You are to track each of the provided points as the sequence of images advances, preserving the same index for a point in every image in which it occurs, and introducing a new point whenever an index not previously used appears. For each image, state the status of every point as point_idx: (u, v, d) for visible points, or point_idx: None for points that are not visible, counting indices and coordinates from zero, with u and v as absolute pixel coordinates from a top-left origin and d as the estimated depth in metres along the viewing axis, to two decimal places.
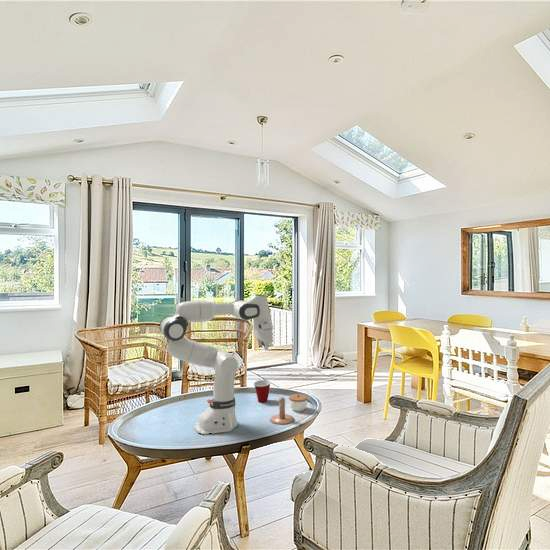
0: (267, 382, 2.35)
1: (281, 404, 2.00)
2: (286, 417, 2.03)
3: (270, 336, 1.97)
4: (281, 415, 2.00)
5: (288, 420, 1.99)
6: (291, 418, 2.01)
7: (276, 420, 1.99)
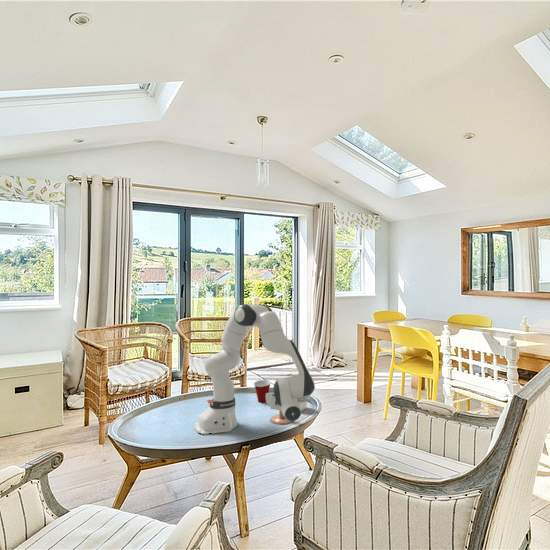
0: (267, 382, 2.35)
1: None
2: None
3: (266, 399, 1.80)
4: (281, 415, 2.00)
5: (288, 420, 1.99)
6: None
7: (276, 420, 1.99)
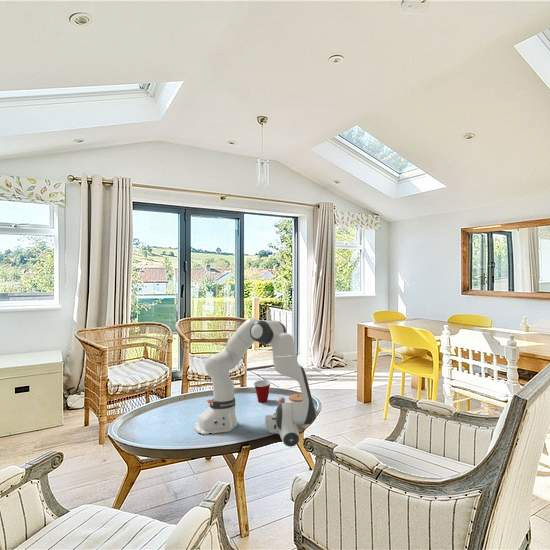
0: (267, 382, 2.35)
1: None
2: None
3: (265, 422, 1.84)
4: None
5: None
6: None
7: None
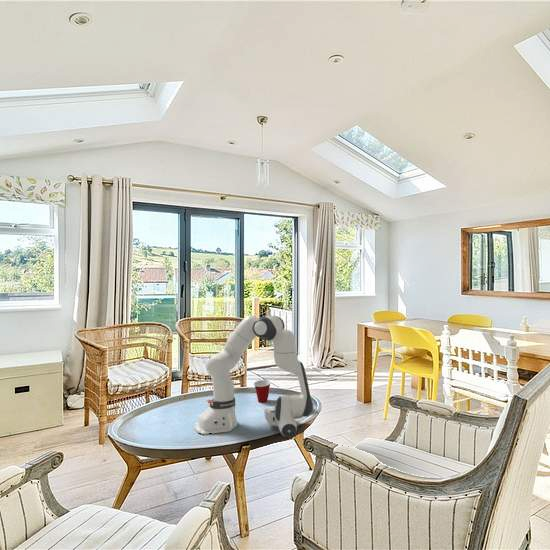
0: (267, 382, 2.35)
1: None
2: None
3: (264, 415, 1.93)
4: None
5: None
6: None
7: None
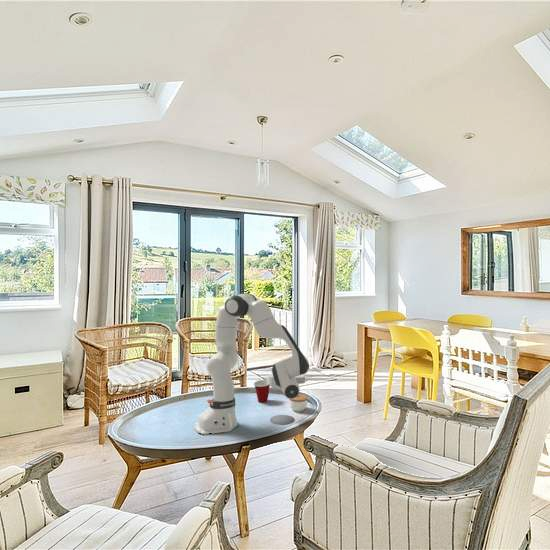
0: (267, 382, 2.35)
1: None
2: None
3: (268, 380, 1.96)
4: None
5: None
6: None
7: None
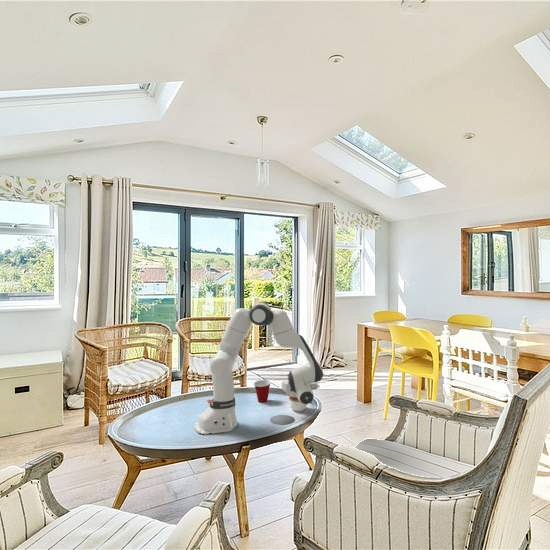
0: (267, 382, 2.35)
1: None
2: None
3: (282, 387, 2.08)
4: None
5: None
6: None
7: None
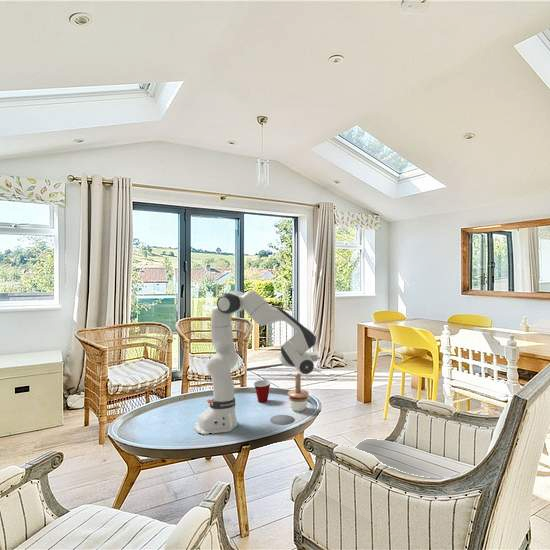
0: (267, 382, 2.35)
1: (297, 379, 2.15)
2: (302, 391, 2.17)
3: (280, 358, 1.94)
4: (297, 389, 2.15)
5: (304, 394, 2.13)
6: (306, 392, 2.16)
7: (292, 394, 2.13)
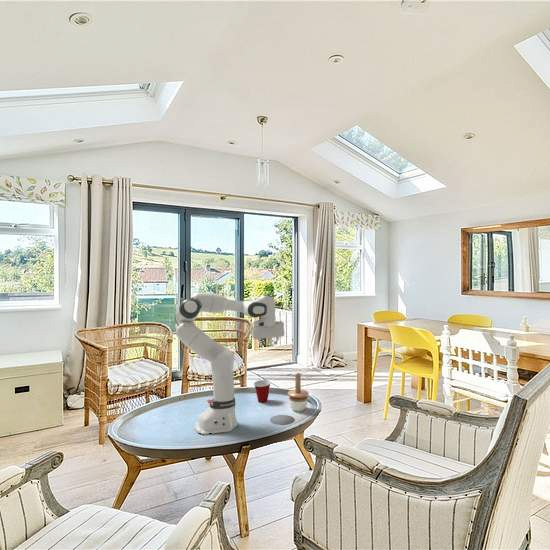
0: (267, 382, 2.35)
1: (297, 379, 2.15)
2: (302, 391, 2.17)
3: (253, 332, 2.16)
4: (297, 389, 2.15)
5: (304, 394, 2.13)
6: (306, 392, 2.16)
7: (292, 394, 2.13)
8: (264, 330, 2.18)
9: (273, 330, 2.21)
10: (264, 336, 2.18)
